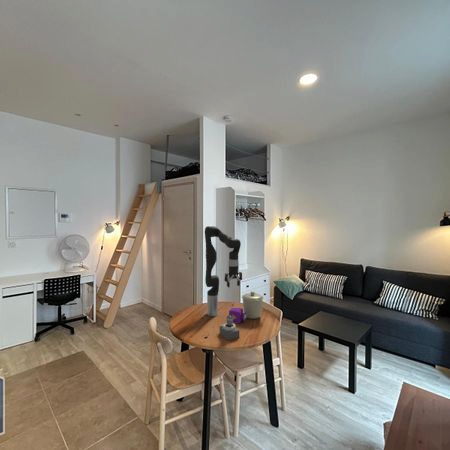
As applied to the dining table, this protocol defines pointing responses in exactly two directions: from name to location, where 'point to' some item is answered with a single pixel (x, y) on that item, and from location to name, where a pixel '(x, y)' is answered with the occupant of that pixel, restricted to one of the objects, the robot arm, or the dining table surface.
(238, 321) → the toy camera
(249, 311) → the canister
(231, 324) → the lens
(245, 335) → the dining table surface
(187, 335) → the dining table surface
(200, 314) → the dining table surface
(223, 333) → the camera body
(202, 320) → the dining table surface
